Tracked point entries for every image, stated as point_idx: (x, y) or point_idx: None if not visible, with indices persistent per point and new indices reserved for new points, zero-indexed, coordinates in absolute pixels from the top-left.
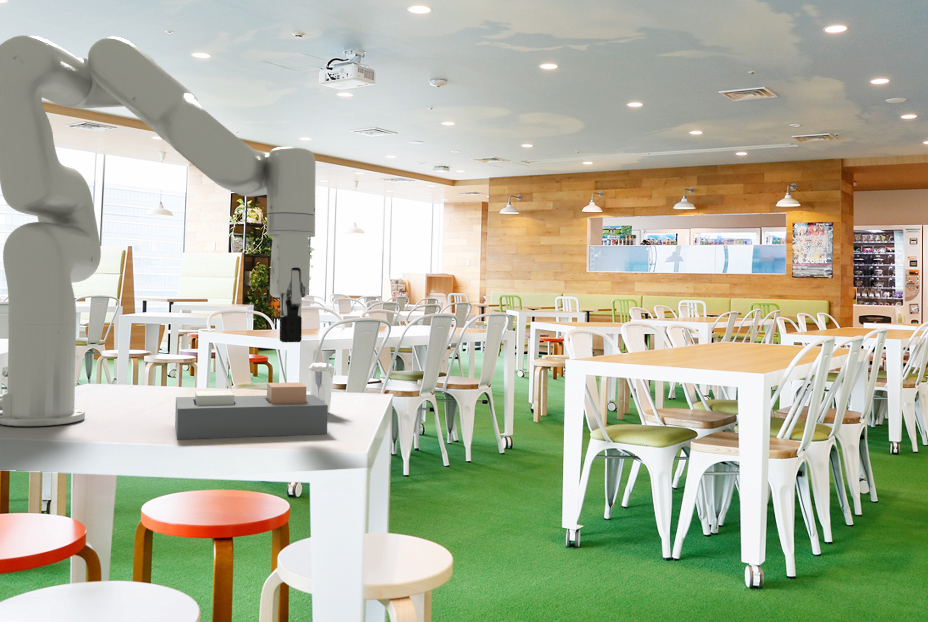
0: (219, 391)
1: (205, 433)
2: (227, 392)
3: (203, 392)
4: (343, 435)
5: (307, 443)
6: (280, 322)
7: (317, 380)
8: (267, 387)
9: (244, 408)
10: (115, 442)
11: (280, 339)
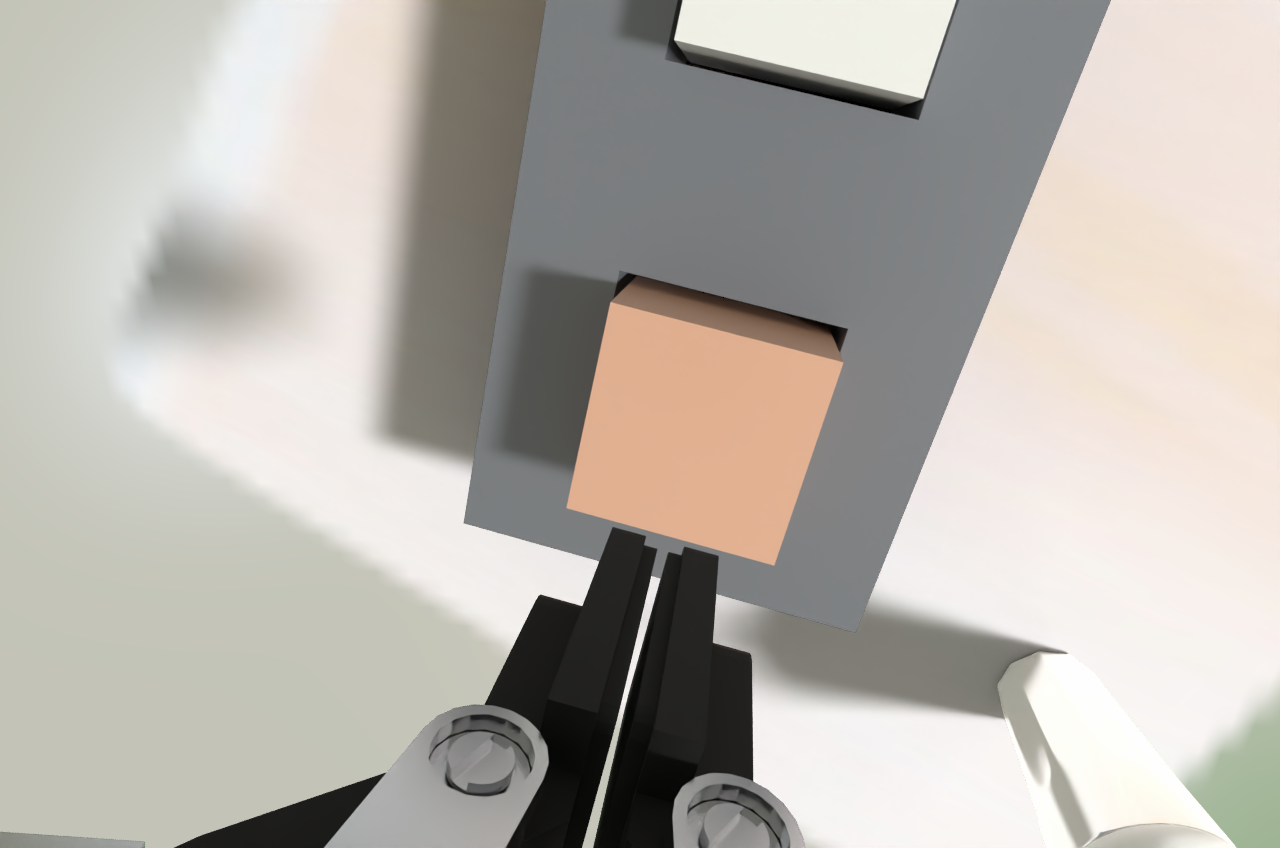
0: None
1: None
2: (827, 34)
3: None
4: (460, 508)
5: (347, 305)
6: (665, 674)
7: (1074, 788)
8: (816, 348)
9: (537, 73)
10: None
11: (686, 553)
